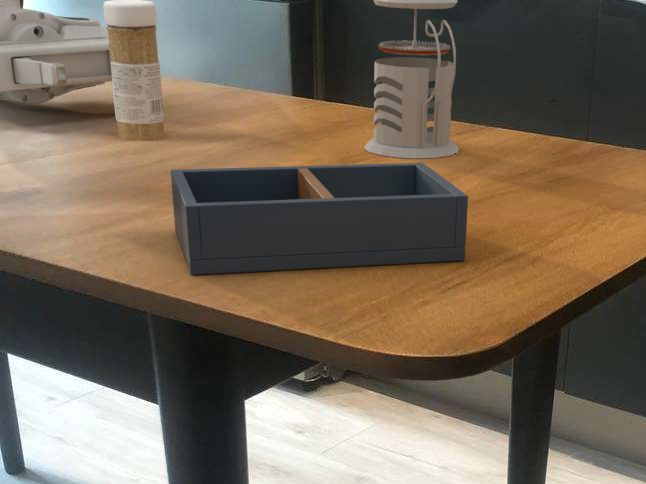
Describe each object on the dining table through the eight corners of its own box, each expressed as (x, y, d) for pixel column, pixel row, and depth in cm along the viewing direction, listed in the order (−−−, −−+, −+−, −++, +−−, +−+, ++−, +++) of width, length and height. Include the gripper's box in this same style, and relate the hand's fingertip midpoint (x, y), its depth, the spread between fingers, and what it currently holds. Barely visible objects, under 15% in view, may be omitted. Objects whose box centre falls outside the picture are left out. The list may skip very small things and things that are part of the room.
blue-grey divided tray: (190, 275, 71) (185, 206, 69) (175, 232, 80) (170, 169, 78) (465, 260, 76) (468, 195, 74) (420, 221, 85) (422, 162, 83)
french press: (431, 137, 116) (440, -135, 104) (486, 158, 108) (504, -136, 95) (347, 142, 112) (347, -140, 100) (398, 165, 103) (405, -142, 91)
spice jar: (143, 150, 106) (129, -2, 99) (177, 156, 104) (166, 1, 97) (108, 157, 102) (91, 0, 96) (143, 164, 100) (128, 3, 94)
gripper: (-81, 26, 102) (-3, 40, 94) (104, 17, 115) (186, 29, 107) (-69, 98, 105) (8, 117, 97) (111, 81, 118) (190, 96, 111)
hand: (103, 70), depth 102 cm, fingers open, 8 cm apart
